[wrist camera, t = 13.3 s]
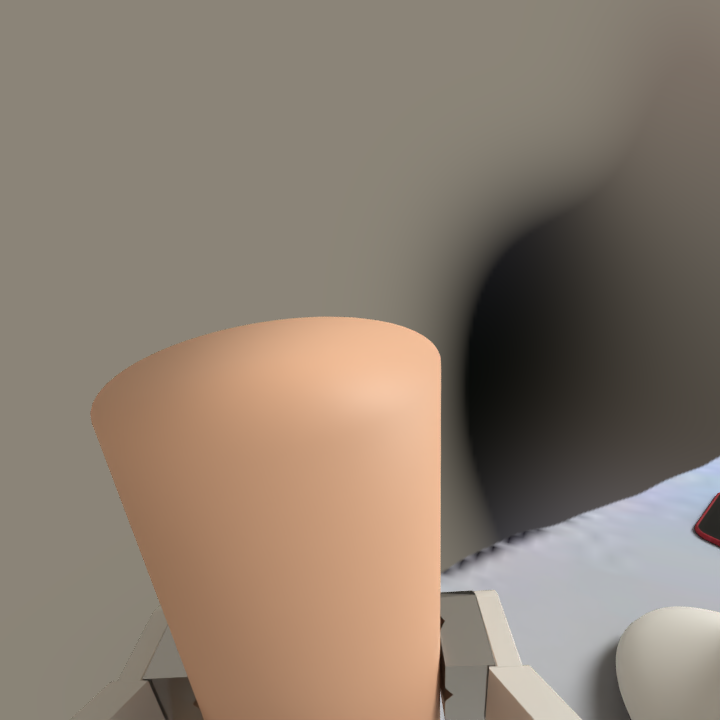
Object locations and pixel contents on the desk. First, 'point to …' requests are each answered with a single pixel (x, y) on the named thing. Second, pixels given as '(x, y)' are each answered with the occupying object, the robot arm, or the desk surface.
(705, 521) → the smartphone
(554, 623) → the desk surface
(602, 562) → the desk surface
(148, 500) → the peg
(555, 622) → the desk surface
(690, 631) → the flower in vase
